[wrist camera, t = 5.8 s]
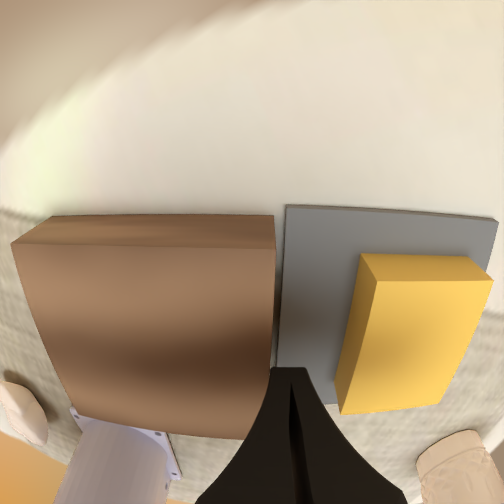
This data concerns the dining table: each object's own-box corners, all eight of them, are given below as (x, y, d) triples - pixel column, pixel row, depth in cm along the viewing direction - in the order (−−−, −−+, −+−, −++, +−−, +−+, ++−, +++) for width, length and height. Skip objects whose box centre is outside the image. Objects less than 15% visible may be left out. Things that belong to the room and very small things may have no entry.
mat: (432, 387, 18) (435, 392, 18) (273, 398, 18) (273, 404, 18) (493, 218, 13) (498, 222, 13) (285, 204, 13) (286, 208, 13)
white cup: (483, 441, 22) (512, 513, 13) (419, 476, 25) (437, 551, 15) (478, 413, 20) (517, 502, 11) (401, 456, 22) (423, 549, 13)
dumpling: (72, 422, 22) (56, 456, 18) (39, 420, 23) (23, 450, 19) (22, 364, 19) (-2, 398, 16) (-7, 367, 20) (-28, 396, 17)
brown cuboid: (265, 393, 18) (264, 440, 15) (97, 376, 19) (78, 414, 15) (273, 215, 14) (275, 249, 11) (51, 216, 14) (10, 243, 11)
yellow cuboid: (340, 414, 15) (333, 381, 17) (438, 403, 15) (424, 374, 17) (377, 281, 11) (360, 253, 14) (493, 280, 11) (467, 256, 14)
